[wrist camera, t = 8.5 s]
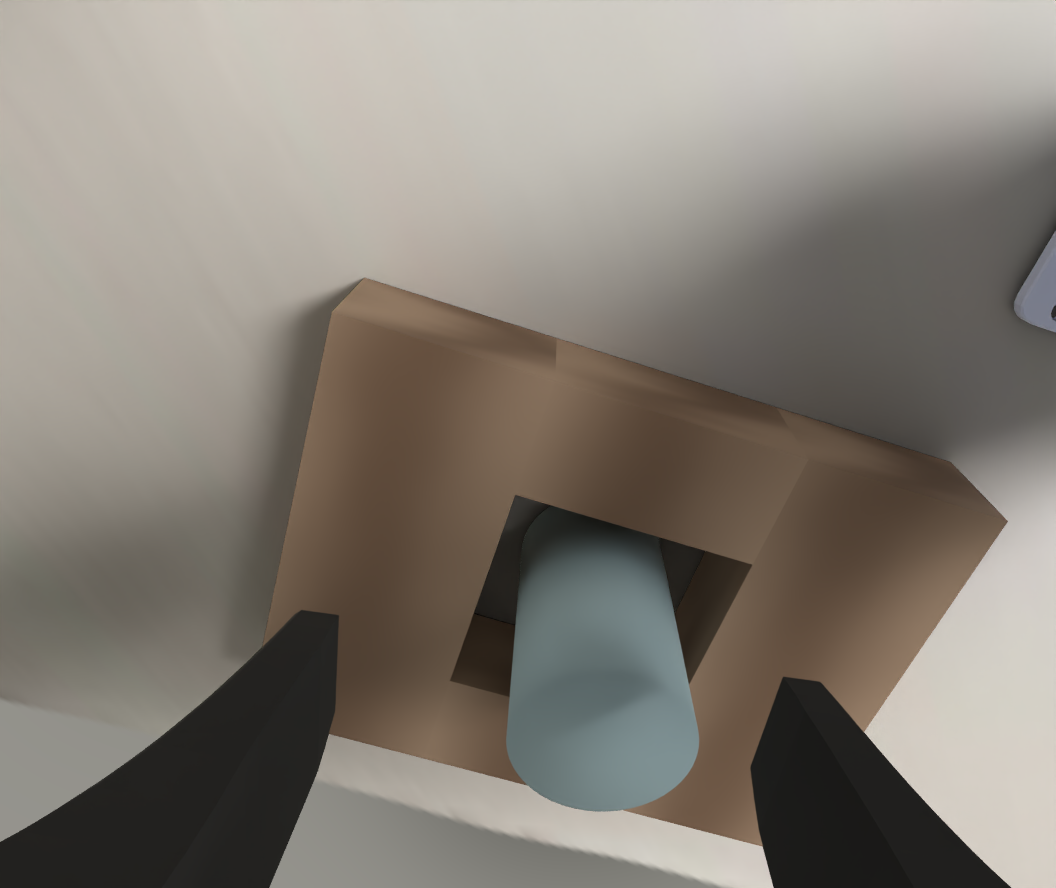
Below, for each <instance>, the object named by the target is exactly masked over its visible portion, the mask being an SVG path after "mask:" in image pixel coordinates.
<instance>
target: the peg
mask: <svg viewBox="0 0 1056 888" xmlns="http://www.w3.org/2000/svg"><path fill="white" fill-rule="evenodd" d="M506 745H507V752H508V756H509V759H510V761H511V764H512V766H513V768H514V769H515V771H516V772H517V774H518V775H519V776H520V778H521V779H522V780H523V781H524V782H525V783H526V784H527V785H528V786H529V787H530V788H532V789H533V790H534V791H536V792H537V793H539V794H540V795H542V796H543V797H545V798H547V799H549V800H551V801H553V802H556V803H558V804H561V805H564V806H567V807H571V808H575V809H581V810H587V811H618V810H625V809H630V808H634V807H638V806H641V805H644V804H647V803H649V802H652V801H654V800H656V799H658V798H660V797H662V796H664V795H665V794H667V793H668V792H669V791H671V790H672V789H674V788H675V787H676V786H677V785H678V784H679V783H680V782H681V781H682V780H683V779H684V778H685V777H686V775H687V774H688V773H689V771H690V770H691V768H692V766H693V764H694V762H695V759H696V757H697V753H698V749H699V733H698V727H697V722H696V717H695V712H694V707H693V703H692V698H691V693H690V688H689V683H688V678H687V673H686V668H685V664H684V659H683V654H682V649H681V644H680V639H679V634H678V629H677V625H676V620H675V615H674V610H673V605H672V600H671V595H670V591H669V586H668V581H667V576H666V571H665V566H664V561H663V556H662V552H661V547H660V542H659V539H658V537H657V536H653V535H650V534H647V533H643V532H640V531H636V530H633V529H630V528H626V527H623V526H619V525H616V524H613V523H609V522H606V521H602V520H599V519H596V518H592V517H589V516H585V515H582V514H579V513H575V512H572V511H568V510H565V509H562V508H558V507H555V506H550V507H549V508H547V509H546V510H544V511H543V512H542V513H541V514H540V515H539V516H538V517H536V519H535V520H534V521H533V522H532V524H531V525H530V527H529V528H528V530H527V532H526V534H525V537H524V540H523V544H522V552H521V564H520V576H519V588H518V601H517V613H516V625H515V637H514V650H513V662H512V674H511V687H510V699H509V711H508V723H507V736H506Z"/></svg>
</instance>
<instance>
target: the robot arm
mask: <svg viewBox="0 0 1056 888" xmlns="http://www.w3.org/2000/svg"><path fill="white" fill-rule="evenodd" d="M1055 305H1056V231H1055V232H1054V234H1053V236H1052V237H1051V239H1050V241H1049V242H1048V244H1047V246H1046V247H1045V249H1044V251H1043V252H1042V254H1041V256H1040V257H1039V259H1038V261H1037V262H1036V264H1035V266H1034V267H1033V269H1032V271H1031V272H1030V274H1029V276H1028V277H1027V279H1026V281H1025V282H1024V284H1023V286H1022V287H1021V289H1020V291H1019V292H1018V294H1017V296H1016V299H1015V302H1014V311H1015V313H1016V314H1017V316H1018V317H1019V318H1021V319H1022V320H1024V321H1026V322H1028V323H1029V324H1032V325H1035V326H1038V327H1041V328H1044V329H1046V330H1049V331H1052V332H1055V333H1056V317H1053V318H1052V316H1051V312H1052V309H1053V307H1054V306H1055ZM338 628H339V615H335V614H328V613H321V612H313V611H306V610H300V611H299V612H297V613H296V614H294V615H293V616H292V617H291V618H290V619H289V620H288V622H287V623H286V624H285V625H284V626H283V627H282V628H281V629H280V630H279V631H278V632H277V633H276V634H275V635H274V636H273V637H272V638H271V639H270V640H269V641H268V642H267V643H266V644H265V645H264V646H263V647H262V648H261V649H260V650H259V651H258V652H257V653H256V654H255V655H254V656H253V657H252V658H251V659H250V660H249V661H248V662H247V663H246V664H244V665H243V666H242V667H241V668H240V669H239V670H238V671H237V672H236V673H235V674H234V675H232V676H231V677H230V678H229V679H228V680H227V681H226V682H225V683H224V684H223V685H222V686H220V687H219V688H218V689H217V690H216V691H215V692H214V693H213V694H212V695H211V696H209V697H208V698H207V699H206V700H205V701H204V702H203V703H201V704H200V705H199V706H198V707H196V708H195V709H194V710H193V711H192V712H190V713H189V714H188V715H187V716H186V717H184V718H183V719H182V720H181V721H180V722H178V723H177V724H176V725H175V726H173V727H172V728H171V729H170V730H169V731H167V732H166V733H165V734H164V735H162V736H161V737H160V738H159V739H157V740H156V741H155V742H153V743H152V744H151V745H150V746H148V747H147V748H146V749H145V750H143V751H142V752H140V753H139V754H138V755H136V756H135V757H133V758H132V759H131V760H129V761H128V762H127V763H125V764H124V765H122V766H121V767H120V768H118V769H117V770H115V771H114V772H113V773H111V774H110V775H108V776H107V777H105V778H104V779H102V780H101V781H99V782H98V783H97V784H95V785H93V786H92V787H90V788H89V789H87V790H86V791H84V792H83V793H81V794H79V795H78V796H77V797H75V798H73V799H72V800H70V801H69V802H67V803H66V804H64V805H62V806H61V807H59V808H58V809H56V810H55V811H53V812H51V813H50V814H48V815H47V816H45V817H43V818H42V819H40V820H38V821H37V822H35V823H33V824H32V825H30V826H28V827H27V828H25V829H23V830H21V831H19V832H18V833H16V834H14V835H12V836H10V837H9V838H7V839H5V840H3V841H1V842H0V888H269V887H270V884H271V882H272V879H273V877H274V875H275V873H276V870H277V868H278V865H279V863H280V861H281V858H282V856H283V853H284V851H285V849H286V846H287V844H288V841H289V839H290V836H291V834H292V832H293V830H294V827H295V825H296V823H297V820H298V818H299V815H300V813H301V811H302V808H303V806H304V803H305V801H306V798H307V796H308V794H309V791H310V789H311V786H312V784H313V782H314V779H315V777H316V774H317V772H318V769H319V765H320V762H321V759H322V755H323V752H324V749H325V745H326V742H327V738H328V735H329V731H330V728H331V724H332V721H333V717H334V714H335V705H336V680H337V654H338ZM750 770H751V778H752V786H753V794H754V802H755V809H756V815H757V822H758V828H759V833H760V837H761V841H762V845H763V849H764V853H765V856H766V860H767V864H768V868H769V872H770V875H771V879H772V883H773V887H774V888H1011V887H1010V886H1009V885H1008V884H1007V883H1006V882H1005V881H1003V880H1002V879H1001V878H1000V877H999V876H998V875H997V874H996V873H995V872H994V871H993V870H991V869H990V868H989V867H988V866H987V865H986V864H985V863H984V862H983V861H982V860H981V859H980V858H979V857H978V856H977V855H976V854H975V853H974V852H973V851H972V850H971V849H970V848H969V847H968V846H967V845H966V844H965V843H964V842H963V841H962V840H961V839H960V838H959V837H958V836H957V835H956V834H955V833H954V832H953V831H952V830H951V829H950V828H949V827H948V826H947V824H946V823H945V822H944V821H943V820H942V819H941V818H940V817H939V816H938V815H937V814H936V813H935V812H934V811H933V810H932V809H931V808H930V807H929V806H928V804H927V803H926V802H925V801H924V800H923V799H922V798H921V797H920V796H919V795H918V794H917V793H916V791H915V790H914V789H913V788H912V787H911V786H910V785H909V784H908V783H907V781H906V780H905V779H904V778H903V777H902V776H901V775H900V774H899V772H898V771H897V770H896V769H895V768H894V767H893V766H892V764H891V763H890V762H889V761H888V760H887V759H886V758H885V756H884V755H883V754H882V753H881V752H880V751H879V749H878V748H877V747H876V746H875V745H874V744H873V742H872V741H871V740H870V739H869V738H868V737H867V735H866V734H865V733H864V732H863V731H862V729H861V728H860V727H859V726H858V725H857V724H856V722H855V721H854V720H853V719H852V718H851V716H850V715H849V714H848V713H847V712H846V711H845V709H844V708H843V707H842V706H841V705H840V704H839V702H838V701H837V700H836V699H835V698H834V697H833V695H832V694H831V693H830V692H829V691H828V690H827V689H826V687H825V686H824V685H823V684H822V683H821V682H819V681H812V680H805V679H798V678H790V677H783V678H782V680H781V683H780V686H779V689H778V691H777V694H776V697H775V700H774V703H773V705H772V708H771V711H770V714H769V716H768V719H767V722H766V725H765V728H764V730H763V733H762V736H761V739H760V741H759V744H758V747H757V750H756V752H755V755H754V758H753V761H752V764H751V766H750Z"/></svg>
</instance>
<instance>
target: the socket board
mask: <svg viewBox="0 0 1056 888" xmlns="http://www.w3.org/2000/svg"><path fill="white" fill-rule="evenodd" d="M515 495H517V496H521V497H524V498H528V499H531V500H534V501H538V502H541V503H545V504H548V505H551V506H555V507H558V508H562V509H565V510H568V511H572V512H575V513H579V514H582V515H585V516H589V517H592V518H596V519H599V520H602V521H606V522H609V523H613V524H616V525H619V526H623V527H626V528H630V529H633V530H636V531H640V532H643V533H647V534H650V535H653V536H657V537H660V538H664V539H667V540H670V541H674V542H677V543H681V544H684V545H687V546H691V547H694V548H698V549H701V550H704V551H706V552H705V554H704V556H703V558H702V560H701V562H700V564H699V566H698V568H697V570H696V572H695V574H694V576H693V578H692V580H691V582H690V584H689V586H688V588H687V590H686V592H685V594H684V596H683V598H682V600H681V602H680V604H679V606H678V608H677V610H676V612H675V614H674V615H675V620H676V625H677V629H678V634H679V639H680V644H681V649H682V654H683V659H684V664H685V668H686V673H687V678H688V683H689V688H690V693H691V698H692V703H693V707H694V712H695V717H696V722H697V727H698V733H699V749H698V753H697V757H696V759H695V762H694V764H693V766H692V768H691V770H690V771H689V773H688V774H687V775H686V777H685V778H684V779H683V780H682V781H681V782H680V783H679V784H678V785H677V786H676V787H675V788H674V789H672V790H671V791H669V792H668V793H667V794H665V795H664V796H662V797H660V798H658V799H656V800H654V801H652V802H649V803H647V804H644V805H641V806H638V807H634V808H630V809H625V810H624V811H628V812H632V813H636V814H640V815H643V816H647V817H651V818H655V819H659V820H663V821H667V822H670V823H674V824H678V825H682V826H686V827H690V828H693V829H697V830H701V831H705V832H709V833H713V834H717V835H720V836H724V837H728V838H732V839H736V840H740V841H743V842H747V843H751V844H755V845H759V846H763V845H762V841H761V837H760V833H759V828H758V822H757V815H756V809H755V802H754V794H753V786H752V778H751V770H750V766H751V764H752V761H753V758H754V755H755V752H756V750H757V747H758V744H759V741H760V739H761V736H762V733H763V730H764V728H765V725H766V722H767V719H768V716H769V714H770V711H771V708H772V705H773V703H774V700H775V697H776V694H777V691H778V689H779V686H780V683H781V680H782V678H783V677H790V678H798V679H805V680H812V681H819V682H821V683H822V684H823V685H824V686H825V687H826V689H827V690H828V691H829V692H830V693H831V694H832V695H833V697H834V698H835V699H836V700H837V701H838V702H839V704H840V705H841V706H842V707H843V708H844V709H845V711H846V712H847V713H848V714H849V715H850V716H851V718H852V719H853V720H854V721H855V722H856V724H857V725H858V726H859V727H860V728H861V729H862V731H863V732H864V731H865V730H866V728H867V727H868V725H869V724H870V722H871V721H872V719H873V718H874V716H875V715H876V714H877V712H878V711H879V709H880V708H881V706H882V705H883V703H884V702H885V700H886V699H887V697H888V696H889V695H890V693H891V692H892V690H893V689H894V687H895V686H896V684H897V683H898V681H899V680H900V678H901V677H902V675H903V674H904V673H905V671H906V670H907V668H908V667H909V665H910V664H911V662H912V661H913V659H914V658H915V656H916V655H917V654H918V652H919V651H920V649H921V648H922V646H923V645H924V643H925V642H926V640H927V639H928V637H929V636H930V634H931V633H932V632H933V630H934V629H935V627H936V626H937V624H938V623H939V621H940V620H941V618H942V617H943V615H944V614H945V613H946V611H947V610H948V608H949V607H950V605H951V604H952V602H953V601H954V599H955V598H956V596H957V595H958V593H959V592H960V591H961V589H962V588H963V586H964V585H965V583H966V582H967V580H968V579H969V577H970V576H971V574H972V573H973V572H974V570H975V569H976V567H977V566H978V564H979V563H980V561H981V560H982V558H983V557H984V555H985V554H986V553H987V551H988V550H989V548H990V547H991V545H992V544H993V542H994V541H995V539H996V538H997V536H998V535H999V533H1000V532H1001V531H1002V529H1003V528H1004V526H1005V525H1006V523H1007V522H1008V521H1007V520H1006V519H1005V518H1004V517H1003V516H1002V515H1001V514H1000V513H999V512H998V511H997V510H996V508H995V507H994V506H993V505H992V504H991V503H990V502H989V501H988V500H987V499H986V498H985V497H984V496H983V495H982V494H981V493H980V492H979V491H978V490H977V489H976V488H975V487H974V486H973V485H972V484H971V483H970V482H969V481H968V480H967V478H966V477H965V476H964V475H963V474H962V473H961V472H960V471H959V470H958V469H957V468H956V467H955V466H954V465H953V464H952V463H951V462H948V461H945V460H942V459H939V458H935V457H932V456H929V455H926V454H923V453H919V452H916V451H913V450H910V449H907V448H904V447H900V446H897V445H894V444H891V443H888V442H885V441H881V440H878V439H875V438H872V437H869V436H865V435H862V434H859V433H856V432H853V431H850V430H846V429H843V428H840V427H837V426H834V425H831V424H827V423H824V422H821V421H818V420H815V419H811V418H808V417H805V416H802V415H799V414H796V413H792V412H789V411H786V410H783V409H780V408H777V407H773V406H770V405H767V404H764V403H761V402H757V401H754V400H751V399H748V398H745V397H742V396H738V395H735V394H732V393H729V392H726V391H723V390H719V389H716V388H713V387H710V386H707V385H703V384H700V383H697V382H694V381H691V380H688V379H684V378H681V377H678V376H675V375H672V374H668V373H665V372H662V371H659V370H656V369H653V368H649V367H646V366H643V365H640V364H637V363H634V362H630V361H627V360H624V359H621V358H618V357H614V356H611V355H608V354H605V353H602V352H599V351H595V350H592V349H589V348H586V347H583V346H580V345H576V344H573V343H570V342H567V341H564V340H560V339H557V338H554V337H551V336H548V335H545V334H541V333H538V332H535V331H532V330H529V329H526V328H522V327H519V326H516V325H513V324H510V323H506V322H503V321H500V320H497V319H494V318H491V317H487V316H484V315H481V314H478V313H475V312H472V311H468V310H465V309H462V308H459V307H456V306H452V305H449V304H446V303H443V302H440V301H437V300H433V299H430V298H427V297H424V296H421V295H417V294H414V293H411V292H408V291H405V290H402V289H398V288H395V287H392V286H389V285H386V284H383V283H379V282H376V281H373V280H370V279H367V278H364V279H363V280H362V281H361V282H360V283H359V284H358V285H357V286H356V287H355V288H354V289H353V290H352V291H351V292H350V293H349V294H348V295H347V296H346V298H345V299H344V300H343V301H342V302H341V303H340V304H339V305H338V306H337V307H336V308H335V309H334V310H333V311H332V313H331V318H330V323H329V328H328V332H327V337H326V342H325V347H324V352H323V356H322V361H321V366H320V371H319V376H318V381H317V385H316V390H315V395H314V400H313V405H312V409H311V414H310V419H309V424H308V429H307V434H306V438H305V443H304V448H303V453H302V458H301V462H300V467H299V472H298V477H297V482H296V487H295V491H294V496H293V501H292V506H291V511H290V515H289V520H288V525H287V530H286V535H285V540H284V544H283V549H282V554H281V559H280V564H279V568H278V573H277V578H276V583H275V588H274V593H273V597H272V602H271V607H270V612H269V617H268V621H267V626H266V631H265V636H264V641H263V646H264V645H265V644H266V643H267V642H268V641H269V640H270V639H271V638H272V637H273V636H274V635H275V634H276V633H277V632H278V631H279V630H280V629H281V628H282V627H283V626H284V625H285V624H286V623H287V622H288V620H289V619H290V618H291V617H292V616H293V615H294V614H296V613H297V612H299V611H300V610H306V611H313V612H321V613H328V614H335V615H339V628H338V654H337V680H336V705H335V714H334V717H333V721H332V724H331V728H330V731H329V734H332V735H336V736H339V737H343V738H347V739H351V740H355V741H359V742H362V743H366V744H370V745H374V746H378V747H382V748H386V749H389V750H393V751H397V752H401V753H405V754H409V755H413V756H416V757H420V758H424V759H428V760H432V761H436V762H439V763H443V764H447V765H451V766H455V767H459V768H463V769H466V770H470V771H474V772H478V773H482V774H486V775H489V776H493V777H497V778H501V779H505V780H509V781H513V782H516V783H520V784H524V785H527V784H526V783H525V782H524V781H523V780H522V779H521V778H520V776H519V775H518V774H517V772H516V771H515V769H514V768H513V766H512V764H511V761H510V759H509V756H508V752H507V745H506V736H507V723H508V711H509V699H510V687H511V674H512V662H513V650H514V637H515V625H512V624H508V623H504V622H501V621H497V620H494V619H490V618H486V617H483V616H479V615H476V614H474V611H475V608H476V605H477V602H478V600H479V597H480V594H481V591H482V588H483V585H484V582H485V580H486V577H487V574H488V571H489V568H490V565H491V563H492V560H493V557H494V554H495V551H496V548H497V545H498V543H499V540H500V537H501V534H502V531H503V528H504V526H505V523H506V520H507V517H508V514H509V511H510V508H511V506H512V503H513V500H514V497H515ZM263 646H262V647H263Z"/></svg>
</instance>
